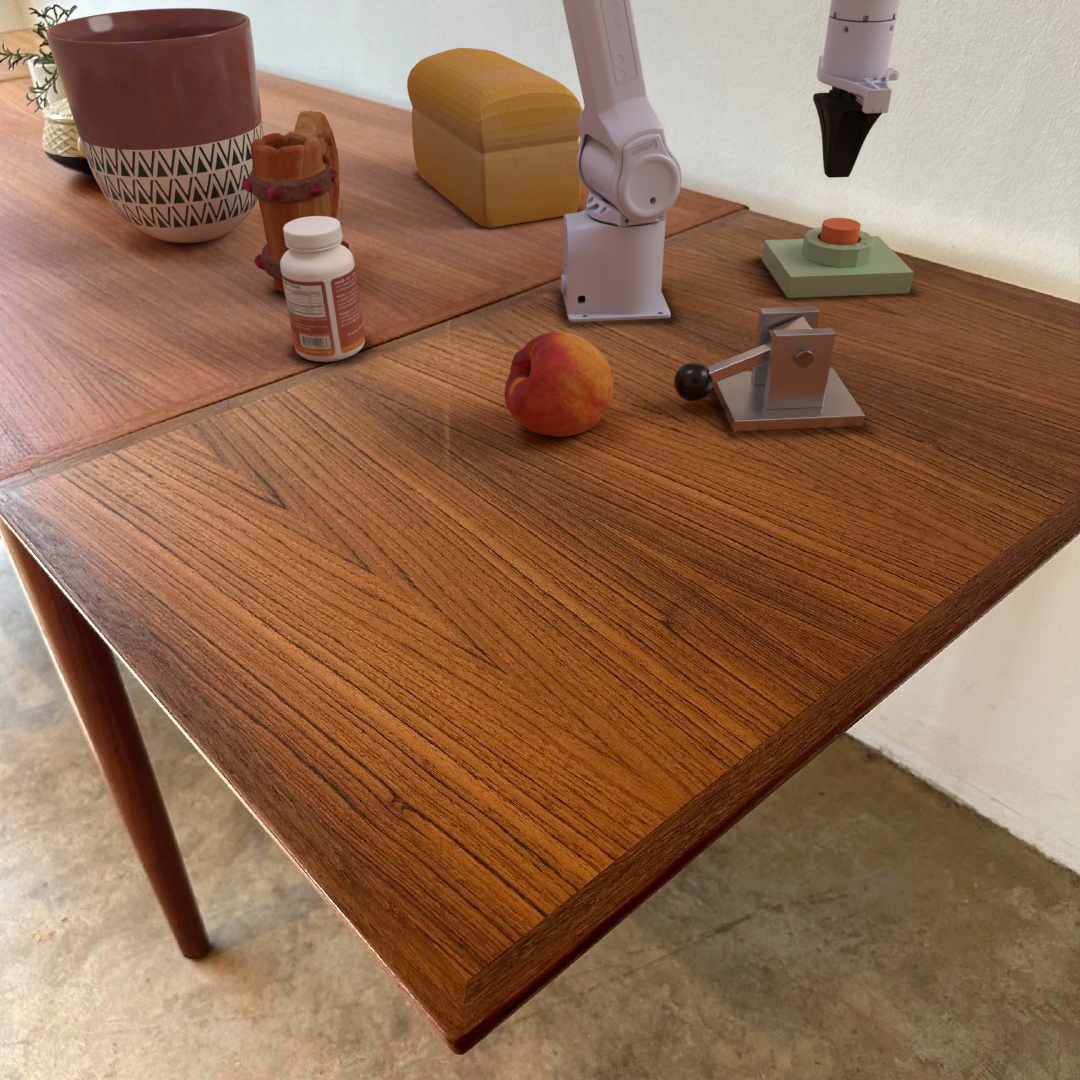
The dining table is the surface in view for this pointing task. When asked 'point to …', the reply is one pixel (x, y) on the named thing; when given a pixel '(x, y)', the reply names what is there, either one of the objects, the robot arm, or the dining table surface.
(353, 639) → the dining table surface
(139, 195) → the planter
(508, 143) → the bread
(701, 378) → the tap lever
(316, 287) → the pill bottle
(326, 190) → the mug
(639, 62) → the robot arm
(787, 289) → the button block
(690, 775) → the dining table surface
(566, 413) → the fruit
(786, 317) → the bracket
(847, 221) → the button
